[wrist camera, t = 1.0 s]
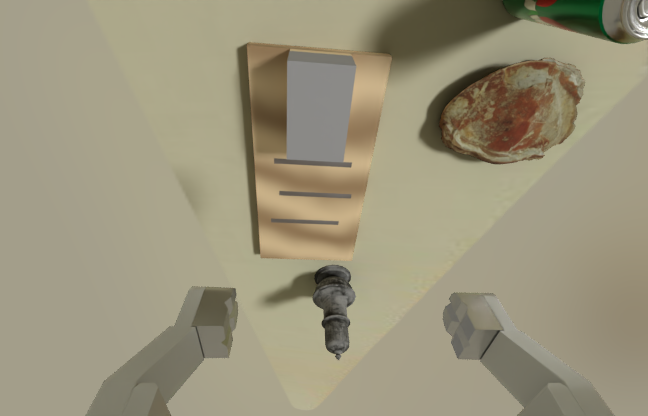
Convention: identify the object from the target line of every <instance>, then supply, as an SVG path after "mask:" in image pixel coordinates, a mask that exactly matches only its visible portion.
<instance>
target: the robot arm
mask: <svg viewBox="0 0 648 416" xmlns="http://www.w3.org/2000/svg"><path fill="white" fill-rule="evenodd" d="M235 298H236V290H235V288H221V287H195V286H192V287H191V289H190V290H189V291H188V294H187V296H186V299H185V301H184V304H183V306H182V308H181V311H180V313H179V316H178V318H177V320H176V323H175V325H174V326H170V327H168V328H167V329H166V330H165V331H164V332H163V333H161V334H160V335H159V336H158V337H157V338H155V339H154V340H153V341H152V342H151V343H149V344H148V345H147V346H146V347H144V348H143V349H142V350H141V351H140V352H138V353H137V354H136V355H135V356H134V357H132V358H131V359H130V360H129V361H128V362H127V363H125V364H124V365H123V366H122V367H120V368H119V369H118V370H117V371H116V372H114V374H112V375H111V376H110V377H108V378H107V379H106V380H105V381H104V382H103V384H102V386H101V388H100V390H99V391H98V393H97V395H96V397H95V399H94V401H93V403H92V405H91V406H90V408H89V410H88V412H87V414H86V416H171V414H170V412H169V410H168V408H167V405H166V404H167V403H168V401H169V400H170V399H171V398H172V397H173V396H174V394H175V393H176V392H177V391H178V390H179V389H180V387H181V386H182V385H183V384H184V383H185V381H186V380H187V379H188V378H189V377H190V375H191V374H192V373H193V372H194V371H195V370H196V369H197V367H198V366H199V365H200V364H201V363H202V361H203V360H204V358H229V355H230V350H231V345H232V341H233V338H232V331H233V330H234V329H235V328H236V323H237V316H238V305H237V302H236V301H235ZM449 300H450V302H451V303H450V304H449V305H447V306H446V307H445V309H444V312H443V321H444V326H445V328H446V331H447V332H448V333H449V334H450V335H451V336H452V341H451V343H452V346H453V348H454V351H455V353H456V355H457V358H458V359H472V360H480V362H482V364H483V365H484V366H485V367H486V368H487V369H488V370H489V371H490V372H491V373H492V374H493V375H494V376H495V377H496V378H497V379H498V380H499V381H500V383H501V384H502V385H503V386H504V387H505V388H506V389H507V390H508V391H509V392H510V393H511V394H512V395H513V396H514V397H515V398H516V399H517V400H518V401H519V403H520V404H521V405H522V406H523V407H524V409H523V410H522V411H521V412H520V413H519V414H518V415H517V416H615V415H614V414H613V413H612V411H611V410H610V409H609V407H608V406H607V404H606V403H605V402H604V400H603V399H602V398H601V396H600V395H599V393H598V392H597V391H596V390H595V388H594V386H593V385H592V384H591V382H590V381H588V380H587V379H586V378H584V377H583V376H581V375H580V374H579V373H577V372H576V371H575V370H574V369H572V368H571V367H570V366H568V365H567V364H565V363H564V362H563V361H561V360H560V359H559V358H557V357H556V356H555V355H553V354H552V353H551V352H549V351H548V350H547V349H545V348H544V347H543V346H541V345H540V344H538V343H537V342H536V341H534V340H533V339H532V338H530V337H529V336H528V335H526V334H525V333H524V332H522V331H518V330H517V329H516V327H515V325H514V324H513V322H512V321H511V319H510V317H509V316H508V314H507V313H506V311H505V309H504V308H503V307H502V305H501V303H500V301H499V300H498V298H497V297H496V295H494V294H493V293H453V294H451V296H450V298H449Z"/></svg>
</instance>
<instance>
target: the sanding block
mask: <svg viewBox="0 0 648 416" xmlns="http://www.w3.org/2000/svg"><path fill="white" fill-rule="evenodd" d="M355 73H356V64H355V62H354V60H353V57H352V55H351V54H349V53H337V52H324V51H312V50H300V49H290V52H289V56H288V60H287V159H289V160H307V161H326V162H343V161H344V154H345V147H346V139H347V132H348V124H349V117H350V110H351V102H352V95H353V88H354V80H355Z"/></svg>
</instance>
